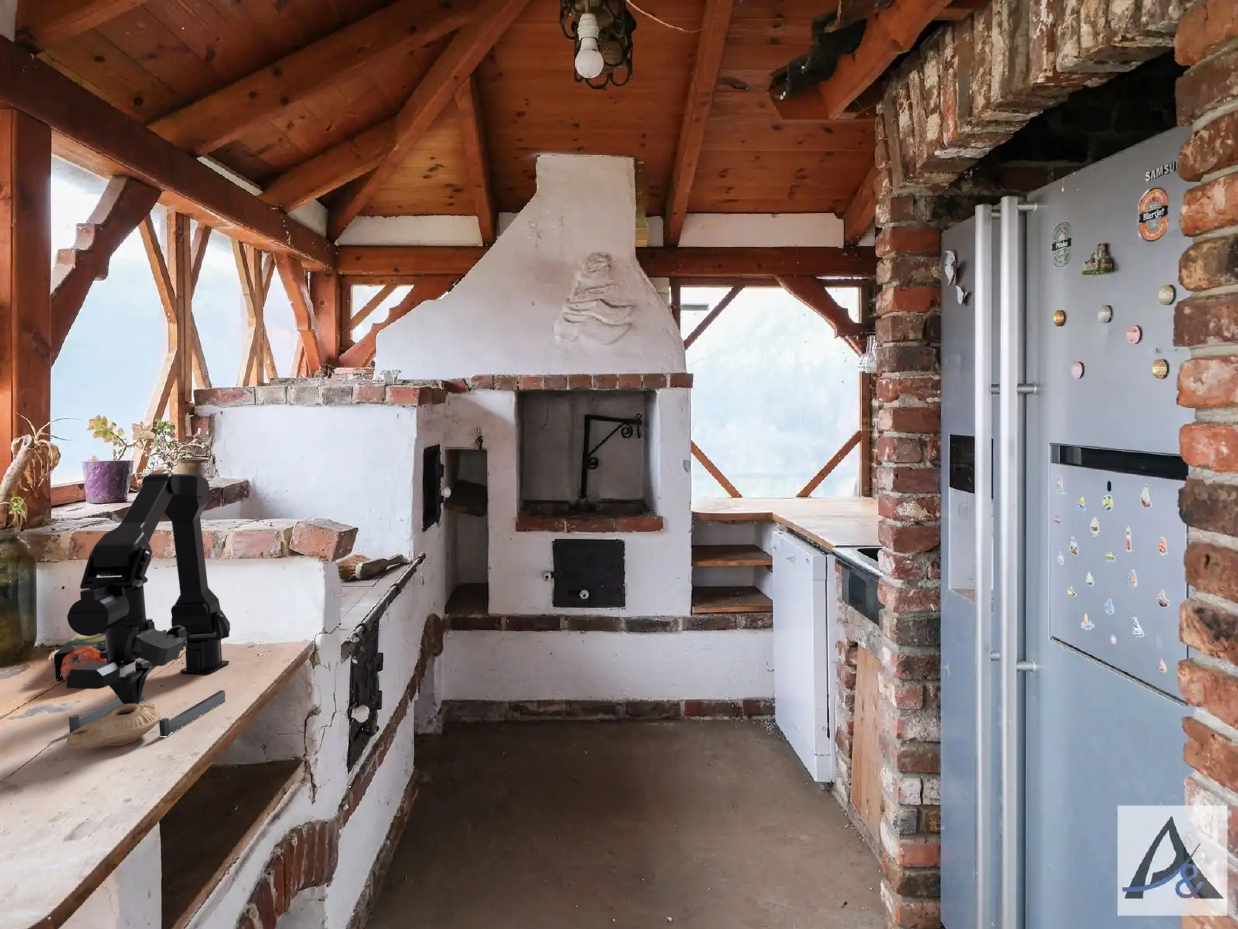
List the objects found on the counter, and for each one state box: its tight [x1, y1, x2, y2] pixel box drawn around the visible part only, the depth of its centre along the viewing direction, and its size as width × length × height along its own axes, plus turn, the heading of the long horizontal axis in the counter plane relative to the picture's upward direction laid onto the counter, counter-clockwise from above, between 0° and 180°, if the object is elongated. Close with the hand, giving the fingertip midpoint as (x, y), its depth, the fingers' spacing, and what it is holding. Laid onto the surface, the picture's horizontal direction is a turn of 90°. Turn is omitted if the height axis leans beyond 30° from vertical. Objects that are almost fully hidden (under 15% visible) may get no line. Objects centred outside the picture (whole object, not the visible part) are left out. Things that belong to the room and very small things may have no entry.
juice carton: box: [53, 633, 108, 682], centre depth 158 cm, size 20×10×6 cm, turn 22°
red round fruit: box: [61, 646, 107, 682], centre depth 146 cm, size 7×7×10 cm
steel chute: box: [68, 689, 226, 737], centre depth 129 cm, size 15×17×3 cm
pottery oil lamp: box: [65, 702, 162, 750], centre depth 118 cm, size 9×12×7 cm
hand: (132, 710), depth 125 cm, fingers closed
